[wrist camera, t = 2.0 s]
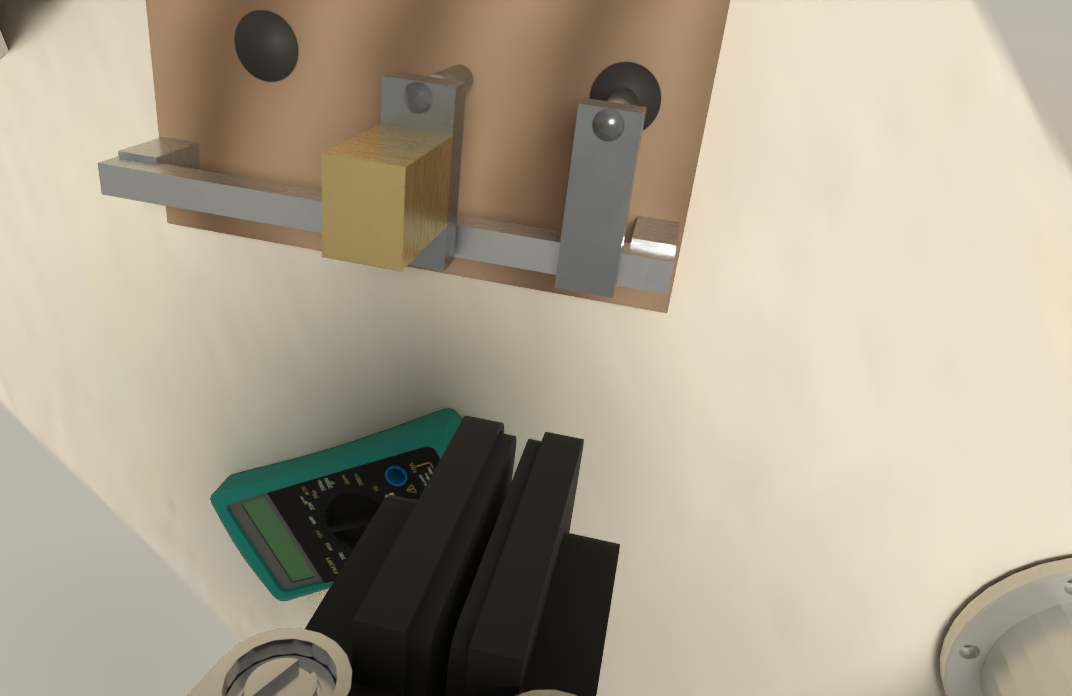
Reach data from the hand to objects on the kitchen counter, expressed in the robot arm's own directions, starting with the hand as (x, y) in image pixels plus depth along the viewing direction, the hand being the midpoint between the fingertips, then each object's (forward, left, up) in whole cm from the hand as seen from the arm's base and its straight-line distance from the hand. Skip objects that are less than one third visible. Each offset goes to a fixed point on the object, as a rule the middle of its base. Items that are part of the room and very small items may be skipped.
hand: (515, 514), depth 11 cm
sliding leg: (+7, 0, -21) cm, 22 cm away
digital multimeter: (+11, +20, -24) cm, 33 cm away
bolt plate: (+9, 0, -23) cm, 25 cm away
